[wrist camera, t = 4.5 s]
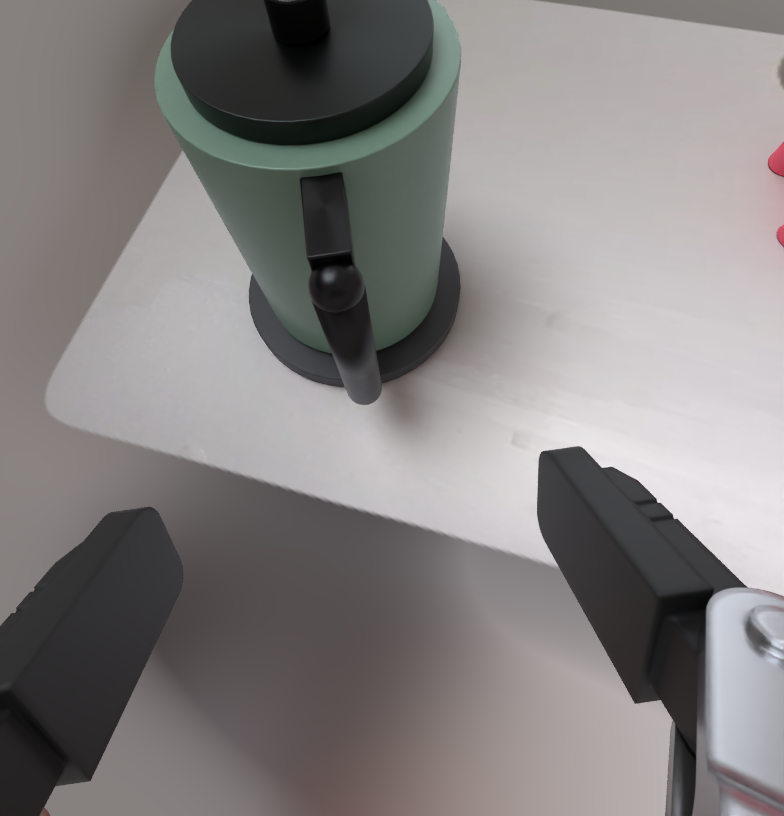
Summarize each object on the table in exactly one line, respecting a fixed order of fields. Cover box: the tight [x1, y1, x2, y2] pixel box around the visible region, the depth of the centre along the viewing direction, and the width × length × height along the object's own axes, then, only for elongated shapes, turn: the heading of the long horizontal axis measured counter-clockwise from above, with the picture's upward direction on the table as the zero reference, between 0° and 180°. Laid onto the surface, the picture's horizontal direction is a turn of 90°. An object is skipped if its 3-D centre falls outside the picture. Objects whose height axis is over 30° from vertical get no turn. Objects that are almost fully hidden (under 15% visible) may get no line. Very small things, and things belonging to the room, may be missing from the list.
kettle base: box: [249, 237, 460, 387], centre depth 28 cm, size 14×14×1 cm
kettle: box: [155, 0, 461, 405], centre depth 20 cm, size 19×11×15 cm, turn 8°
